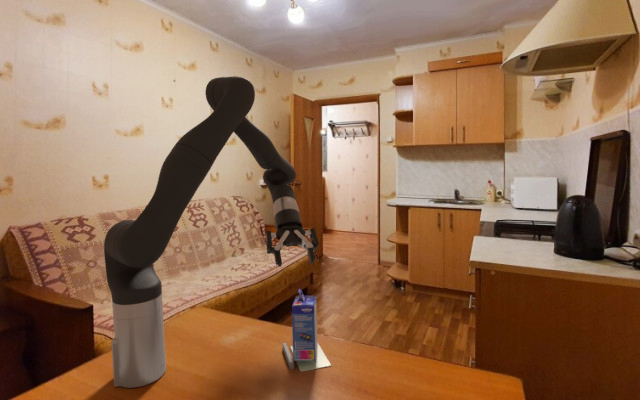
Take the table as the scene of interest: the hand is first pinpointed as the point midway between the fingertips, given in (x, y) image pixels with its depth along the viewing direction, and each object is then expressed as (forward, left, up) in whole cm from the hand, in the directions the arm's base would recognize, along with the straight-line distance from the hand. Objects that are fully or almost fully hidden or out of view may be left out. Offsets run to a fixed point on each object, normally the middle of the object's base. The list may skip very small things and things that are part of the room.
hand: (296, 263), depth 89 cm
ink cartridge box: (-1, -12, -18) cm, 22 cm away
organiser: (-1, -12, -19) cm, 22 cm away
